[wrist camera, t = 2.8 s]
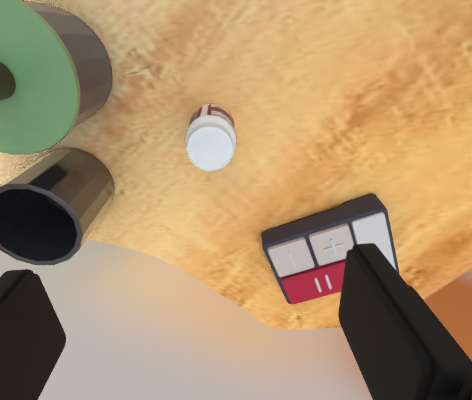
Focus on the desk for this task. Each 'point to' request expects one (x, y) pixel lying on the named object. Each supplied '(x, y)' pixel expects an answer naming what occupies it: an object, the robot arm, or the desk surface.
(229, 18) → the desk surface
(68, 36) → the tin
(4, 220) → the cup
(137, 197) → the desk surface
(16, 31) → the lid
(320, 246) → the calculator
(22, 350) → the robot arm
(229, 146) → the pill bottle
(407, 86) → the desk surface
